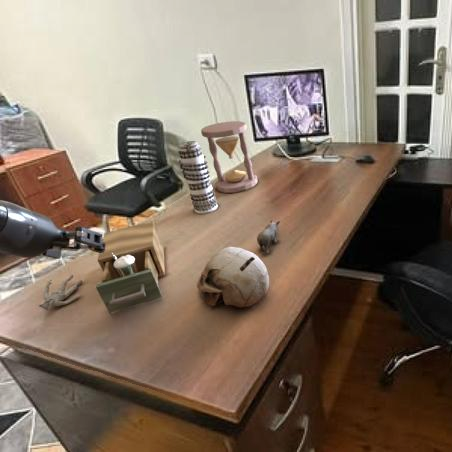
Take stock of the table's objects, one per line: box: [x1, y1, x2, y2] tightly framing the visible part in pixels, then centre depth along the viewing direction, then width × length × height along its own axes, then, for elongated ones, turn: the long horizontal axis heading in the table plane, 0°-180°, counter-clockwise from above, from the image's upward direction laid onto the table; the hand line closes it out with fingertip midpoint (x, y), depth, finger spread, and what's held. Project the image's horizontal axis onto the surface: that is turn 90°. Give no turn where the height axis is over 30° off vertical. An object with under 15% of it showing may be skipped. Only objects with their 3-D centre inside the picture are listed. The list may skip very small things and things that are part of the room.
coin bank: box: [196, 246, 270, 309], centre depth 83 cm, size 16×17×13 cm
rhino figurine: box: [256, 219, 281, 255], centre depth 105 cm, size 4×14×6 cm, turn 166°
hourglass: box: [200, 120, 259, 194], centre depth 145 cm, size 18×18×25 cm
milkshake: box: [111, 253, 138, 277], centre depth 86 cm, size 4×5×10 cm
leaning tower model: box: [176, 140, 219, 214], centre depth 126 cm, size 9×9×25 cm
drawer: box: [95, 249, 163, 314], centre depth 86 cm, size 19×12×8 cm, turn 24°
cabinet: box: [97, 220, 166, 278], centre depth 97 cm, size 16×13×10 cm
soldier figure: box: [38, 274, 83, 311], centre depth 89 cm, size 8×5×12 cm
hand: (81, 250), depth 70 cm, fingers open, 8 cm apart
